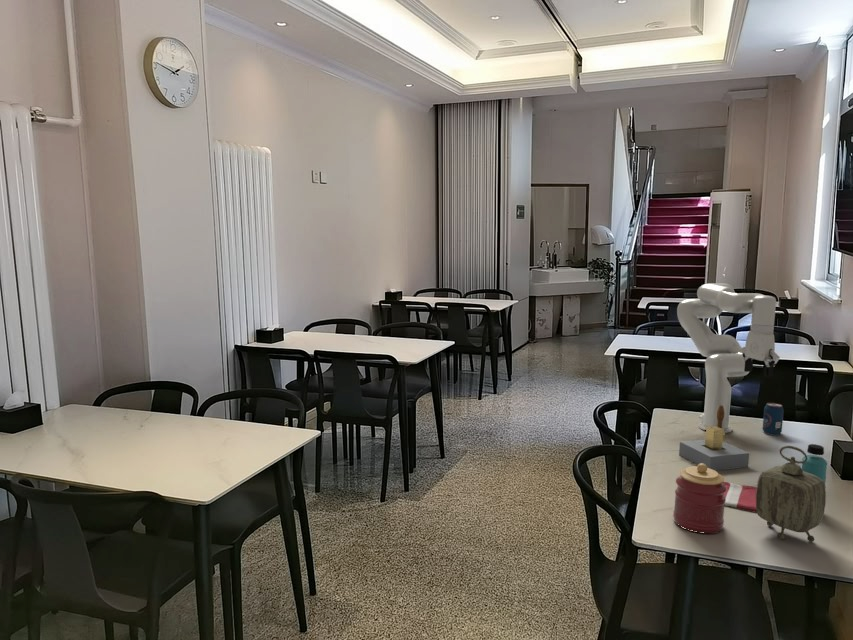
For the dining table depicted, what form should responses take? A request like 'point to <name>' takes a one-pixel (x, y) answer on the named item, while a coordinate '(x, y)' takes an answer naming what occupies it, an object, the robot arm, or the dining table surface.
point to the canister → (700, 499)
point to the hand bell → (721, 419)
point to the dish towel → (740, 496)
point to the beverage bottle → (815, 462)
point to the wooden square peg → (714, 438)
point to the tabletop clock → (790, 497)
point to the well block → (714, 455)
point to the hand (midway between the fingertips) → (757, 374)
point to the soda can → (773, 418)
